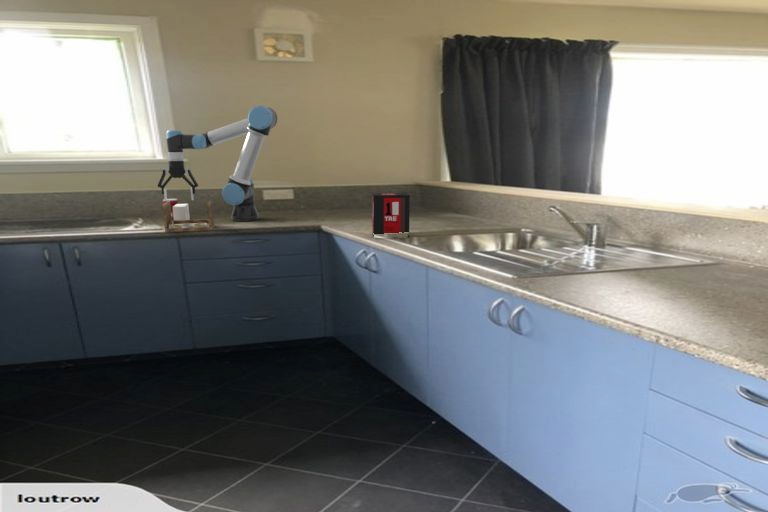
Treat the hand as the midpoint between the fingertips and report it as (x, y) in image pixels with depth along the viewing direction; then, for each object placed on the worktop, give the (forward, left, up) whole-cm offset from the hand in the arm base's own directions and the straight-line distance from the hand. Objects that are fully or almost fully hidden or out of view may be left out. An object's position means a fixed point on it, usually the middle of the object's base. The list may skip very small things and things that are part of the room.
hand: (179, 200), depth 269 cm
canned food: (+9, -20, -13) cm, 25 cm away
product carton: (0, 0, -13) cm, 13 cm away
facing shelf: (-7, +18, -13) cm, 23 cm away
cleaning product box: (-103, +61, -13) cm, 121 cm away
